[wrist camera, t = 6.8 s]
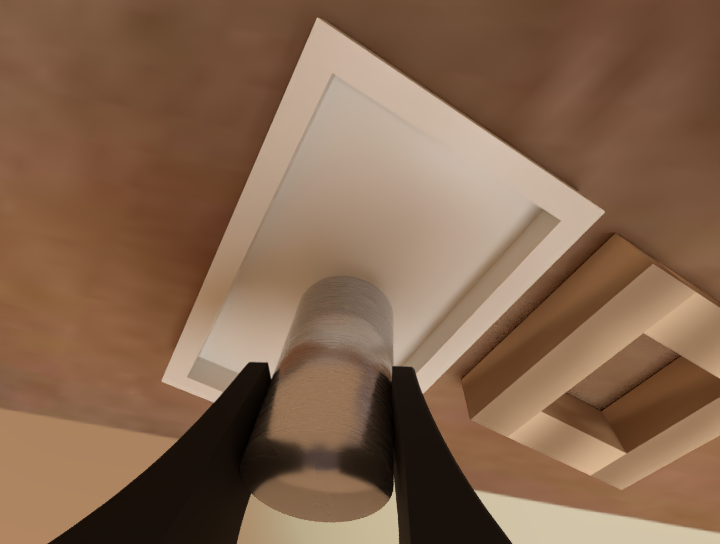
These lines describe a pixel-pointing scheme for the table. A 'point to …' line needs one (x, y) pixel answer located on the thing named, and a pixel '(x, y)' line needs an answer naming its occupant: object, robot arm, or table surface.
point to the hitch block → (592, 349)
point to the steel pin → (328, 408)
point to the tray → (375, 220)
